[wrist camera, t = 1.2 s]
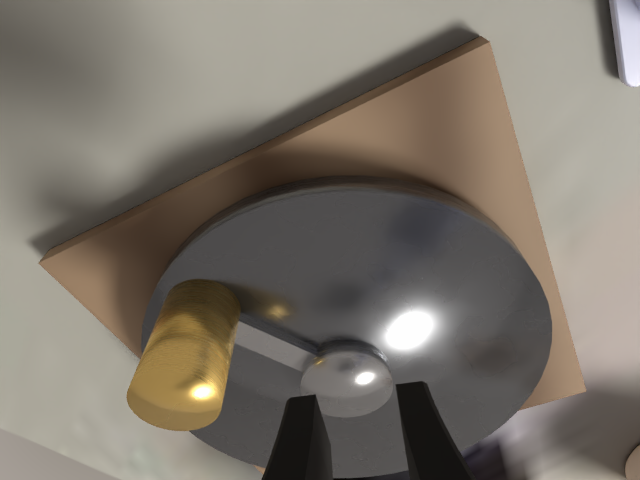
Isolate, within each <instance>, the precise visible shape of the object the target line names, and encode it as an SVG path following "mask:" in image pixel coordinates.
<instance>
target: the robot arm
mask: <svg viewBox="0 0 640 480" xmlns="http://www.w3.org/2000/svg"><path fill="white" fill-rule="evenodd" d="M609 5H610V12H611V20H612V27H613V35H614V42H615V49H616V57H617V64H618V72H619V78H620V80H621V82H622V83H624V84H625V85H627V86H629V87H637V86H640V0H609ZM395 385H396V392H397V399H398V405H399V412H400V419H401V426H402V433H403V439H404V445H405V451H406V457H407V463H408V469H409V475H410V480H476V479H475V477H474V475H473V473H472V472H471V470H470V468H469V467H468V465H467V463H466V462H465V460H464V458H463V457H462V455H461V453H460V452H459V450H458V448H457V446H456V444H455V443H454V441H453V439H452V437H451V435H450V433H449V431H448V429H447V428H446V426H445V424H444V422H443V420H442V418H441V416H440V414H439V411H438V409H437V407H436V405H435V402H434V400H433V398H432V395H431V393H430V390H429V387H428V384H427V383H425V382H423V381H418V382H410V383H402V384H395ZM262 480H333V470H332V456H331V444H330V441H329V437H328V434H327V431H326V427H325V424H324V421H323V417H322V414H321V411H320V407H319V404H318V401H317V397H316V394H314V395H306V396H298V397H290V398H289V399H288V400H287V401H286V405H285V409H284V413H283V417H282V420H281V424H280V427H279V431H278V434H277V437H276V440H275V443H274V446H273V449H272V452H271V455H270V458H269V461H268V464H267V466H266V469H265V472H264V474H263V477H262Z"/></svg>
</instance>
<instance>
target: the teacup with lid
mask: <svg viewBox="0 0 640 480" xmlns="http://www.w3.org/2000/svg"><path fill="white" fill-rule="evenodd" d="M625 474H626V477H627V480H640V445H639V446H637V447H636V449H635V450H634V451H633V452H632V453H631V454H630V456H629V458H628V460H627V462H626V466H625Z"/></svg>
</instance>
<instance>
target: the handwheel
mask: <svg viewBox="0 0 640 480" xmlns="http://www.w3.org/2000/svg"><path fill="white" fill-rule="evenodd" d="M551 344H552V319H551V313H550V308H549V303H548V300H547V298H546V296H545V293H544V291H543V288H542V286H541V284H540V282H539V280H538V279H537V277H536V276H535V274H534V272H533V271H532V269H531V268H530V266H529V264H528V263H527V261H526V260H525V258H524V257H523V255H522V254H521V252H520V251H519V249H518V248H517V246H516V245H515V243H514V242H513V241H512V240H511V238H510V237H509V236H508V235H507V234H506V233H505V232H504V231H503V230H502V229H501V228H500V227H499V226H498V225H497V224H496V223H495V222H493V221H492V220H491V219H489V218H488V217H487V216H485V215H484V214H483V213H481V212H480V211H479V210H477V209H476V208H474V207H472V206H470V205H468V204H467V203H465V202H463V201H461V200H459V199H457V198H456V197H454V196H452V195H449V194H446V193H444V192H441V191H438V190H436V189H433V188H430V187H428V186H425V185H420V184H416V183H412V182H408V181H404V180H399V179H394V178H385V177H376V176H367V175H342V176H326V177H318V178H310V179H303V180H298V181H294V182H290V183H286V184H282V185H278V186H274V187H271V188H268V189H266V190H263V191H260V192H258V193H255V194H253V195H250V196H248V197H245V198H243V199H241V200H239V201H237V202H236V203H234V204H232V205H230V206H228V207H226V208H225V209H223V210H221V211H219V212H218V213H216V214H215V215H214V216H212V217H211V218H210V219H208V220H207V221H206V222H204V223H203V224H202V225H200V226H199V227H198V228H197V229H196V230H195V231H194V232H193V233H192V234H191V235H190V236H189V237H188V238H187V239H186V240H185V241H184V242H183V243H182V244H181V245H180V246H179V247H178V249H177V250H176V252H175V253H174V254H173V256H172V257H171V259H170V260H169V262H168V263H167V265H166V267H165V269H164V271H163V273H162V275H161V277H160V279H159V282H158V284H157V286H156V288H155V290H154V293H153V295H152V297H151V299H150V301H149V304H148V306H147V309H146V313H145V317H144V321H143V324H142V336H141V350H142V357H141V360H140V362H139V364H138V367H137V369H136V372H135V374H134V377H133V379H132V381H131V384H130V386H129V389H128V392H127V402H128V405H129V407H130V408H131V410H132V411H133V412H134V413H135V414H136V415H137V416H138V417H139V418H141V419H142V420H144V421H145V422H147V423H149V424H151V425H154V426H156V427H159V428H163V429H167V430H174V431H190V432H191V433H192V434H193V435H195V436H196V437H197V438H199V439H200V440H202V441H204V442H205V443H207V444H208V445H210V446H212V447H213V448H215V449H217V450H219V451H221V452H223V453H225V454H227V455H229V456H231V457H234V458H236V459H239V460H241V461H244V462H246V463H249V464H252V465H255V466H259V467H262V468H266V466H267V464H268V461H269V458H270V455H271V452H272V449H273V446H274V443H275V440H276V437H277V434H278V431H279V427H280V424H281V420H282V417H283V413H284V409H285V405H286V401H287V400H288V399H289V398H290V397H298V396H306V395H314V394H316V397H317V401H318V404H319V407H320V411H321V414H322V417H323V421H324V424H325V427H326V431H327V434H328V437H329V441H330V444H331V456H332V470H333V478H357V477H370V476H378V475H385V474H391V473H397V472H401V471H405V470H409V469H408V463H407V457H406V451H405V445H404V439H403V433H402V426H401V419H400V412H399V405H398V399H397V392H396V385H395V384H402V383H410V382H418V381H423V382H425V383H427V384H428V387H429V390H430V393H431V395H432V398H433V400H434V402H435V405H436V407H437V409H438V411H439V414H440V416H441V418H442V420H443V422H444V424H445V426H446V428H447V429H448V431H449V433H450V435H451V437H452V439H453V441H454V443H455V444H456V446H457V448H458V450H459V452H460V451H462V450H464V449H466V448H468V447H470V446H472V445H474V444H476V443H477V442H479V441H480V440H482V439H484V438H485V437H487V436H488V435H490V434H491V433H493V432H494V431H495V430H496V429H498V428H499V427H500V426H502V425H503V424H504V423H506V422H507V421H508V420H509V419H510V418H511V417H512V416H513V415H514V414H515V413H516V412H517V411H518V410H519V409H520V408H521V407H522V405H523V404H524V403H525V402H526V400H527V399H528V398H529V397H530V395H531V394H532V393H533V391H534V389H535V387H536V386H537V384H538V382H539V381H540V379H541V377H542V375H543V372H544V370H545V367H546V365H547V362H548V359H549V354H550V349H551Z"/></svg>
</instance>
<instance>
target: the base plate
mask: <svg viewBox="0 0 640 480" xmlns="http://www.w3.org/2000/svg"><path fill="white" fill-rule="evenodd" d="M342 175H367V176H376V177H385V178H394V179H399V180H404V181H408V182H412V183H416V184H420V185H425V186H428V187H430V188H433V189H436V190H438V191H441V192H444V193H446V194H449V195H452V196H454V197H456V198H457V199H459V200H461V201H463V202H465V203H467V204H468V205H470V206H472V207H474V208H476V209H477V210H479V211H480V212H481V213H483V214H484V215H485V216H487V217H488V218H489V219H491V220H492V221H493V222H495V223H496V224H497V225H498V226H499V227H500V228H501V229H502V230H503V231H504V232H505V233H506V234H507V235H508V236H509V237H510V238H511V240H512V241H513V242H514V243H515V245H516V246H517V248H518V249H519V251H520V252H521V254H522V255H523V257H524V258H525V260H526V261H527V263H528V264H529V266H530V268H531V269H532V271H533V272H534V274H535V276H536V277H537V279H538V280H539V282H540V284H541V286H542V288H543V291H544V293H545V296H546V298H547V300H548V303H549V308H550V313H551V319H552V344H551V349H550V354H549V359H548V362H547V365H546V367H545V370H544V372H543V375H542V377H541V379H540V381H539V382H538V384H537V386H536V387H535V389H534V391H533V393H532V394H531V395H530V397H529V398H528V399H527V400H526V402H525V403H524V404H523V405H522V407H521V408H520V409H519V410H522V409H526V408H529V407H533V406H536V405H540V404H544V403H547V402H551V401H554V400H558V399H561V398H565V397H568V396H572V395H575V394H579V393H583V392H586V388H585V384H584V381H583V377H582V373H581V370H580V366H579V363H578V359H577V355H576V352H575V348H574V344H573V341H572V337H571V334H570V330H569V326H568V323H567V319H566V316H565V312H564V308H563V305H562V301H561V297H560V294H559V290H558V287H557V283H556V279H555V276H554V272H553V269H552V265H551V261H550V258H549V254H548V250H547V247H546V243H545V240H544V236H543V232H542V229H541V225H540V222H539V218H538V214H537V211H536V207H535V203H534V200H533V196H532V193H531V189H530V185H529V182H528V178H527V175H526V171H525V167H524V164H523V160H522V156H521V153H520V149H519V146H518V142H517V138H516V135H515V131H514V128H513V124H512V120H511V117H510V113H509V110H508V106H507V102H506V99H505V95H504V91H503V88H502V84H501V81H500V77H499V73H498V70H497V66H496V63H495V59H494V55H493V52H492V48H491V44H490V42H489V41H488V40H486V39H485V38H483V37H482V36H480V37H478V38H476V39H474V40H472V41H470V42H468V43H466V44H464V45H462V46H460V47H457V48H455V49H453V50H451V51H449V52H447V53H445V54H443V55H441V56H439V57H437V58H435V59H433V60H431V61H429V62H427V63H425V64H423V65H421V66H419V67H417V68H415V69H413V70H411V71H409V72H407V73H405V74H403V75H401V76H399V77H397V78H395V79H393V80H391V81H389V82H387V83H385V84H383V85H381V86H379V87H377V88H375V89H373V90H371V91H369V92H367V93H365V94H363V95H361V96H359V97H357V98H355V99H353V100H351V101H349V102H347V103H345V104H343V105H341V106H339V107H336V108H334V109H332V110H330V111H328V112H326V113H324V114H322V115H320V116H318V117H316V118H314V119H312V120H310V121H308V122H306V123H304V124H302V125H300V126H298V127H296V128H294V129H292V130H290V131H288V132H286V133H284V134H282V135H280V136H278V137H276V138H274V139H272V140H270V141H268V142H266V143H264V144H262V145H260V146H258V147H256V148H254V149H252V150H250V151H248V152H246V153H244V154H242V155H240V156H238V157H236V158H234V159H232V160H230V161H228V162H226V163H224V164H222V165H220V166H218V167H216V168H213V169H211V170H209V171H207V172H205V173H203V174H201V175H199V176H197V177H195V178H193V179H191V180H189V181H187V182H185V183H183V184H181V185H179V186H177V187H175V188H173V189H171V190H169V191H167V192H165V193H163V194H161V195H159V196H157V197H155V198H153V199H151V200H149V201H147V202H145V203H143V204H141V205H139V206H137V207H135V208H133V209H131V210H129V211H127V212H125V213H123V214H121V215H119V216H117V217H115V218H113V219H111V220H109V221H107V222H105V223H103V224H101V225H99V226H97V227H95V228H92V229H90V230H88V231H86V232H84V233H82V234H80V235H78V236H76V237H74V238H72V239H70V240H68V241H66V242H64V243H62V244H60V245H58V246H56V247H54V248H52V249H50V250H49V251H48V252H47V253H46V255H45V256H44V257H43V258H42V259H41V260H40V262H39V264H40V265H41V266H42V267H43V268H44V269H45V270H46V271H47V272H48V273H49V274H50V275H51V276H53V277H54V278H55V279H56V280H57V281H58V282H59V283H60V284H61V285H62V286H63V287H64V288H65V289H66V290H67V291H69V292H70V293H71V294H72V295H73V296H74V297H75V298H76V299H77V300H78V301H79V302H80V303H81V304H82V305H83V306H84V307H86V308H87V309H88V310H89V311H90V312H91V313H92V314H93V315H94V316H95V317H96V318H97V319H98V320H99V321H100V322H101V323H103V324H104V325H105V326H106V327H107V328H108V329H109V330H110V331H111V332H112V333H113V334H114V335H115V336H116V337H117V338H118V339H120V340H121V341H122V342H123V343H124V344H125V345H126V346H127V347H128V348H129V349H130V350H131V351H132V352H133V353H134V354H136V355H137V356H138V357H139V358H140V359H141V357H142V350H141V336H142V324H143V321H144V317H145V313H146V309H147V306H148V304H149V301H150V299H151V297H152V295H153V293H154V290H155V288H156V286H157V284H158V282H159V279H160V277H161V275H162V273H163V271H164V269H165V267H166V265H167V263H168V262H169V260H170V259H171V257H172V256H173V254H174V253H175V252H176V250H177V249H178V247H179V246H180V245H181V244H182V243H183V242H184V241H185V240H186V239H187V238H188V237H189V236H190V235H191V234H192V233H193V232H194V231H195V230H196V229H197V228H198V227H199V226H200V225H202V224H203V223H204V222H206V221H207V220H208V219H210V218H211V217H212V216H214V215H215V214H216V213H218V212H219V211H221V210H223V209H225V208H226V207H228V206H230V205H232V204H234V203H236V202H237V201H239V200H241V199H243V198H245V197H248V196H250V195H253V194H255V193H258V192H260V191H263V190H266V189H268V188H271V187H274V186H278V185H282V184H286V183H290V182H294V181H298V180H303V179H310V178H318V177H326V176H342ZM519 410H518V411H519ZM254 466H255V465H254ZM255 467H256V468H257V469H258V470H259V471H260V472H261V473H262V474H264V472H265V469H266V468H262V467H259V466H255Z"/></svg>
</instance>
